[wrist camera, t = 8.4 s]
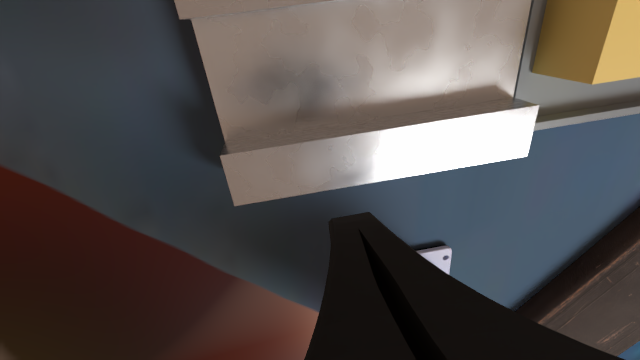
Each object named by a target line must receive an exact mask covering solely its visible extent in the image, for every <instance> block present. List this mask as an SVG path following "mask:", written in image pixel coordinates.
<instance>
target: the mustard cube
mask: <svg viewBox="0 0 640 360" xmlns="http://www.w3.org/2000/svg"><path fill="white" fill-rule="evenodd" d="M532 73H536V74H541V75H546V76H551V77H556V78H561V79H566V80H571V81H576V82H581V83H586V84H591V85H593V84H599V83H606V82H612V81H618V80H625V79H631V78H638V77H640V0H547V4H546V9H545V13H544V18H543V23H542V28H541V32H540V37H539V42H538V46H537V51H536V56H535V61H534V65H533V70H532Z"/></svg>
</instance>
